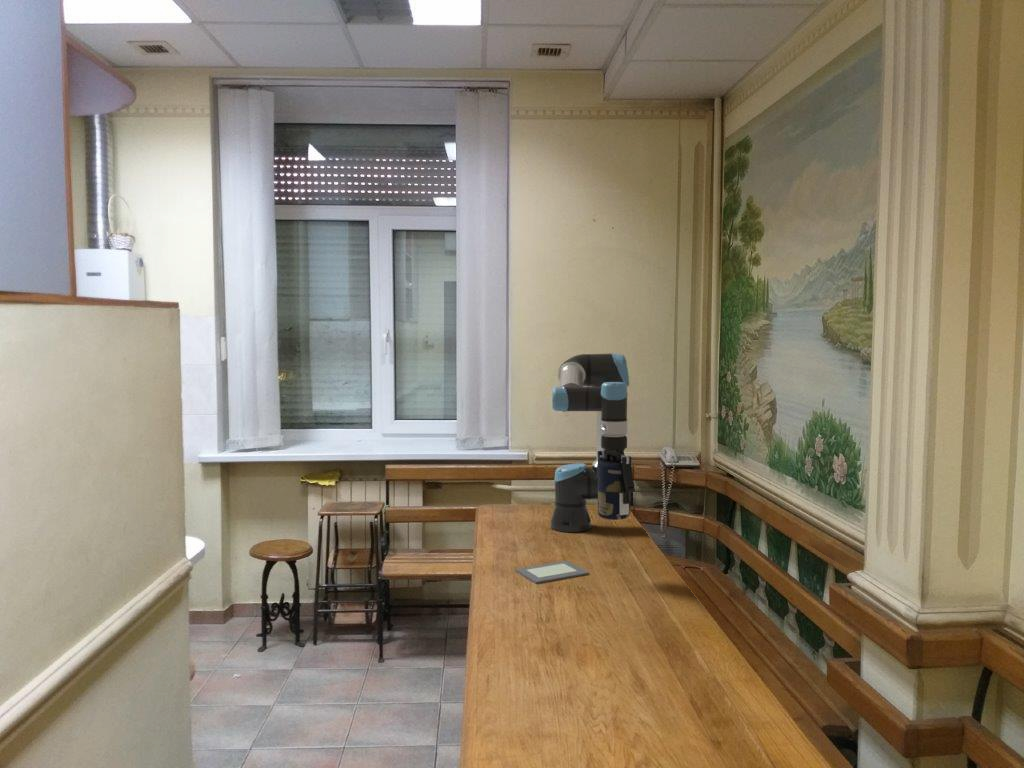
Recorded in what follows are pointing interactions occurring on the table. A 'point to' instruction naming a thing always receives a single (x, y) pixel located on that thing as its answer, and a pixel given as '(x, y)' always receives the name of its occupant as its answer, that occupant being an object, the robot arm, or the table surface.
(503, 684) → the table surface
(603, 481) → the canister
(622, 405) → the robot arm
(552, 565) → the mat
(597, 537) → the table surface
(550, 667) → the table surface
